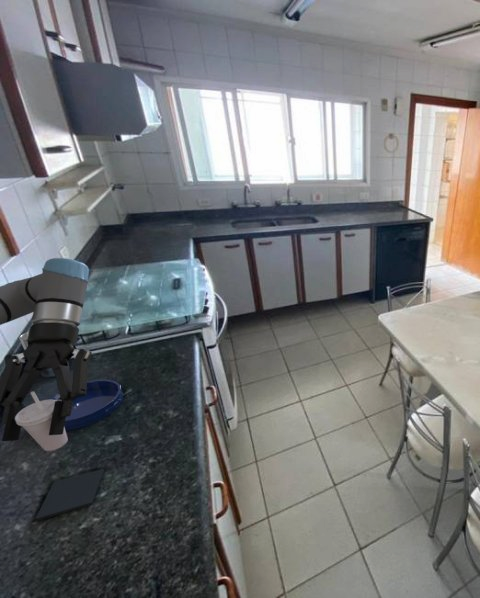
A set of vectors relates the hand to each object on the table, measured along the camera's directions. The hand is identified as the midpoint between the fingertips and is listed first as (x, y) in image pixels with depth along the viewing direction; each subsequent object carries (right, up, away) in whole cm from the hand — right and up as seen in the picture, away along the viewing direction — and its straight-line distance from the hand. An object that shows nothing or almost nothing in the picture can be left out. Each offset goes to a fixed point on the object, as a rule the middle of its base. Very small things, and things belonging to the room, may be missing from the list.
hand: (33, 437), depth 65 cm
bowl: (-19, -5, +31) cm, 37 cm away
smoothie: (-1, -4, +6) cm, 7 cm away
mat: (-1, -16, +8) cm, 18 cm away
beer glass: (-42, +3, +44) cm, 61 cm away
